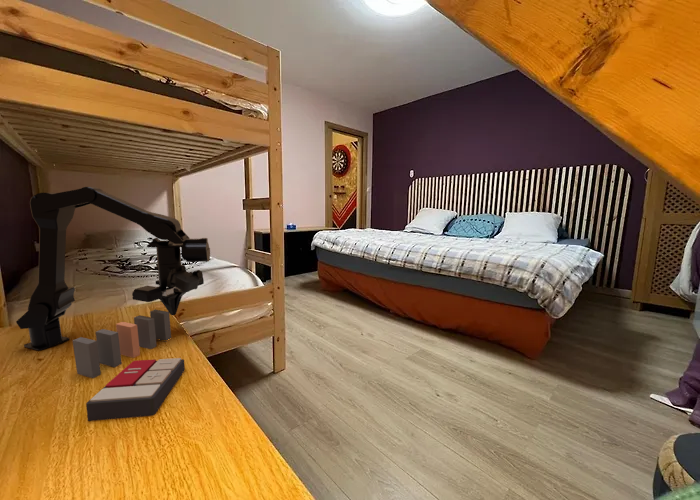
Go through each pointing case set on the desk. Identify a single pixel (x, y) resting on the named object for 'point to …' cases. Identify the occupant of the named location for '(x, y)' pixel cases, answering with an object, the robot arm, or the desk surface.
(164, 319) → the domino
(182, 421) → the desk surface
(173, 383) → the calculator
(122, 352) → the domino
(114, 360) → the domino
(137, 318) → the domino
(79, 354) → the domino
